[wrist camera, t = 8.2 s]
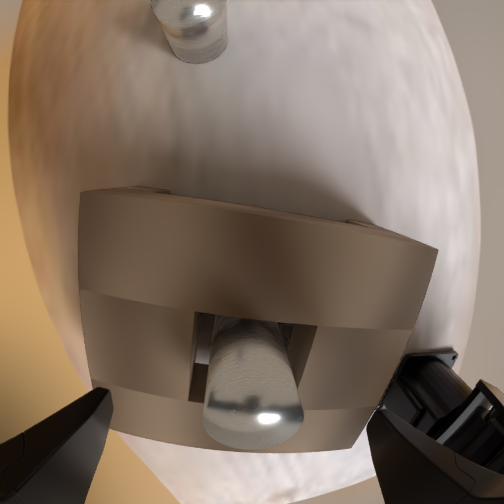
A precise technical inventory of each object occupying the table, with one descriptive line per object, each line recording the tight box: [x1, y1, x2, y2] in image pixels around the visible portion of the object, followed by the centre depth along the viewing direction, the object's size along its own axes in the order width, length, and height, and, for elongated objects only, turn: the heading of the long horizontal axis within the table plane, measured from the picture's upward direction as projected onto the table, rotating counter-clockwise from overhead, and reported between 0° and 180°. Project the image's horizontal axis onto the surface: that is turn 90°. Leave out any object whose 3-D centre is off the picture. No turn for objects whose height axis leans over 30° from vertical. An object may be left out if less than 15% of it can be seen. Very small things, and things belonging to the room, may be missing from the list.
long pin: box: [203, 314, 304, 450], centre depth 12 cm, size 3×3×9 cm
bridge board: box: [78, 186, 438, 453], centre depth 13 cm, size 14×12×6 cm
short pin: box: [151, 0, 228, 64], centre depth 10 cm, size 3×3×5 cm
